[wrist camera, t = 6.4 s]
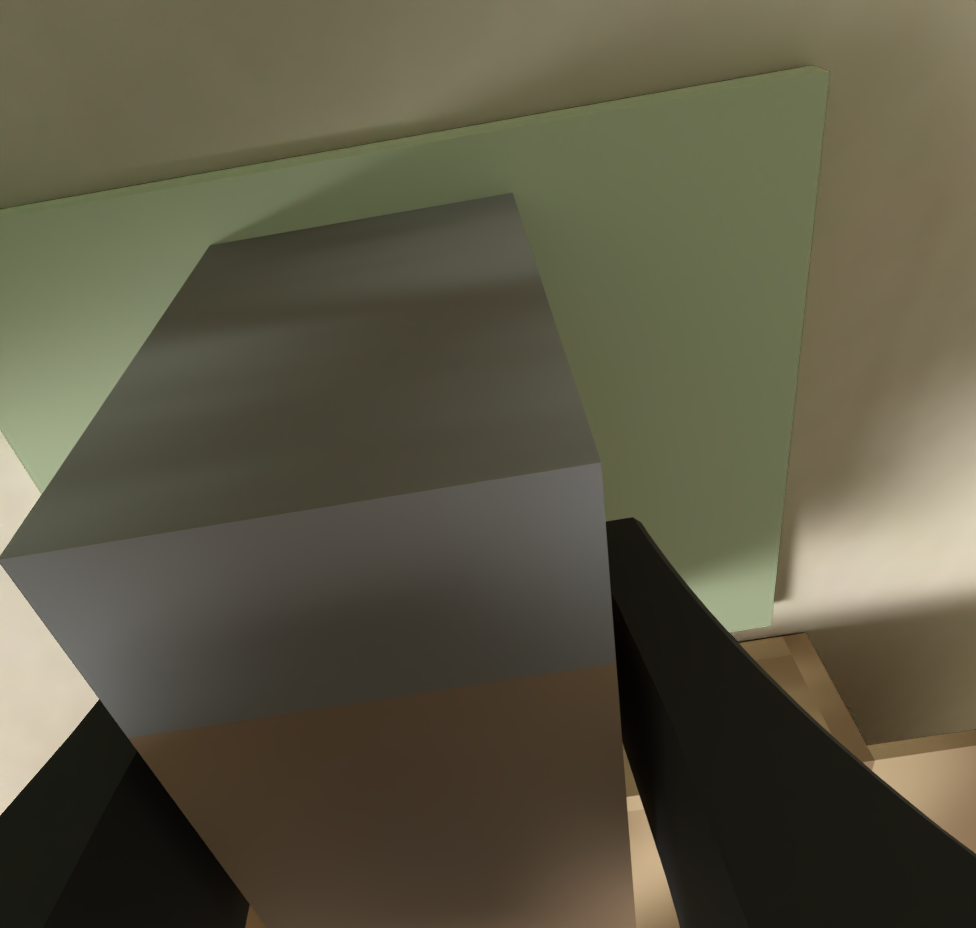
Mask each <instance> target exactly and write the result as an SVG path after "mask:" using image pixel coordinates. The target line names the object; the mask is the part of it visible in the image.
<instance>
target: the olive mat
mask: <svg viewBox="0 0 976 928" xmlns="http://www.w3.org/2000/svg"><path fill="white" fill-rule="evenodd" d="M829 76H830V71H828V70H825V69H822V68H819V67H816V66H814V65H811V66H805V67H800V68H794V69H788V70H783V71H777V72H772V73H766V74H760V75H755V76H749V77H743V78H738V79H732V80H726V81H721V82H715V83H710V84H704V85H698V86H693V87H687V88H681V89H676V90H670V91H664V92H659V93H653V94H648V95H642V96H636V97H631V98H625V99H619V100H614V101H608V102H602V103H597V104H591V105H586V106H580V107H574V108H569V109H563V110H557V111H552V112H546V113H540V114H535V115H529V116H524V117H518V118H512V119H507V120H501V121H495V122H490V123H484V124H478V125H473V126H467V127H462V128H456V129H450V130H445V131H439V132H433V133H428V134H422V135H417V136H411V137H405V138H400V139H394V140H388V141H383V142H377V143H371V144H366V145H360V146H355V147H349V148H343V149H338V150H332V151H326V152H321V153H315V154H309V155H304V156H298V157H293V158H287V159H281V160H276V161H270V162H264V163H259V164H253V165H247V166H242V167H236V168H231V169H225V170H219V171H214V172H208V173H202V174H197V175H191V176H185V177H180V178H174V179H169V180H163V181H157V182H152V183H146V184H140V185H135V186H129V187H123V188H118V189H112V190H107V191H101V192H95V193H90V194H84V195H78V196H73V197H67V198H61V199H56V200H50V201H45V202H39V203H33V204H28V205H22V206H16V207H11V208H5V209H0V430H1V432H2V434H3V435H4V437H5V438H6V440H7V441H8V443H9V445H10V446H11V448H12V449H13V451H14V452H15V454H16V455H17V457H18V459H19V460H20V462H21V463H22V465H23V466H24V468H25V469H26V471H27V473H28V474H29V476H30V477H31V479H32V480H33V482H34V484H35V485H36V487H37V488H38V490H39V491H40V493H41V494H42V493H43V492H44V490H45V489H46V487H47V486H48V484H49V483H50V481H51V480H52V479H53V477H54V476H55V474H56V473H57V471H58V470H59V468H60V467H61V465H62V464H63V462H64V461H65V459H66V458H67V456H68V455H69V453H70V452H71V450H72V449H73V447H74V446H75V444H76V443H77V441H78V440H79V438H80V437H81V436H82V434H83V433H84V431H85V430H86V428H87V427H88V425H89V424H90V422H91V421H92V419H93V418H94V416H95V415H96V413H97V412H98V410H99V409H100V407H101V406H102V404H103V403H104V401H105V400H106V398H107V397H108V395H109V394H110V393H111V391H112V390H113V388H114V387H115V385H116V384H117V382H118V381H119V379H120V378H121V376H122V375H123V373H124V372H125V370H126V369H127V367H128V366H129V364H130V363H131V361H132V360H133V358H134V357H135V355H136V354H137V352H138V351H139V350H140V348H141V347H142V345H143V344H144V342H145V341H146V339H147V338H148V336H149V335H150V333H151V332H152V330H153V329H154V327H155V326H156V324H157V323H158V321H159V320H160V318H161V317H162V315H163V314H164V312H165V311H166V309H167V308H168V307H169V305H170V304H171V302H172V301H173V299H174V298H175V296H176V295H177V293H178V292H179V290H180V289H181V287H182V286H183V284H184V283H185V281H186V280H187V278H188V277H189V275H190V274H191V272H192V271H193V269H194V268H195V266H196V265H197V264H198V262H199V261H200V259H201V258H202V256H203V255H204V253H205V252H206V250H207V249H208V247H209V246H210V245H215V244H220V243H226V242H232V241H238V240H243V239H249V238H255V237H261V236H266V235H272V234H278V233H284V232H289V231H295V230H301V229H307V228H312V227H318V226H324V225H330V224H335V223H341V222H347V221H352V220H358V219H364V218H370V217H375V216H381V215H387V214H393V213H398V212H404V211H410V210H416V209H421V208H427V207H433V206H439V205H444V204H450V203H456V202H462V201H467V200H473V199H479V198H485V197H490V196H496V195H502V194H508V193H513V196H514V199H515V202H516V205H517V208H518V211H519V214H520V217H521V220H522V224H523V227H524V230H525V233H526V236H527V239H528V242H529V245H530V248H531V251H532V254H533V257H534V260H535V263H536V266H537V269H538V272H539V275H540V278H541V281H542V284H543V287H544V290H545V293H546V296H547V300H548V303H549V306H550V309H551V312H552V315H553V318H554V321H555V324H556V327H557V330H558V333H559V336H560V339H561V342H562V345H563V348H564V351H565V354H566V357H567V360H568V363H569V366H570V369H571V373H572V376H573V379H574V382H575V385H576V388H577V391H578V394H579V397H580V400H581V403H582V406H583V409H584V412H585V415H586V418H587V421H588V424H589V427H590V430H591V433H592V436H593V439H594V442H595V445H596V449H597V452H598V455H599V458H600V461H601V468H602V481H603V495H604V508H605V521H612V520H618V519H624V518H631V517H634V518H635V519H637V520H638V521H640V522H641V523H642V524H643V526H644V527H645V529H646V530H647V532H648V533H649V535H650V536H651V538H652V539H653V540H654V542H655V543H656V545H657V546H658V547H659V549H660V550H661V551H662V553H663V554H664V555H665V557H666V558H667V559H668V561H669V562H670V563H671V565H672V566H673V567H674V568H675V570H676V571H677V572H678V574H679V575H680V576H681V577H682V578H683V580H684V581H685V582H686V583H687V585H688V586H689V587H690V588H691V590H692V591H693V592H694V593H695V594H696V596H697V597H698V598H699V599H700V600H701V601H702V603H703V604H704V605H705V606H706V607H707V608H708V610H709V611H710V612H711V613H712V614H713V615H714V616H715V617H716V618H717V620H718V621H719V622H720V623H721V624H722V625H723V626H724V627H725V628H726V630H727V631H728V632H736V631H742V630H749V629H755V628H762V627H768V626H771V621H772V612H773V602H774V593H775V584H776V574H777V565H778V555H779V546H780V537H781V527H782V518H783V508H784V499H785V490H786V480H787V471H788V461H789V452H790V443H791V433H792V424H793V414H794V405H795V396H796V386H797V377H798V367H799V358H800V349H801V339H802V330H803V321H804V311H805V302H806V292H807V283H808V274H809V264H810V255H811V245H812V236H813V227H814V217H815V208H816V198H817V189H818V180H819V170H820V161H821V151H822V142H823V133H824V123H825V114H826V104H827V95H828V86H829Z"/></svg>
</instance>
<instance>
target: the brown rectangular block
mask: <svg viewBox="0 0 976 928" xmlns="http://www.w3.org/2000/svg"><path fill="white" fill-rule="evenodd" d="M0 564H1V566H2V567H3V568H4V570H5V571H6V572H7V574H8V575H9V576H10V578H11V579H12V581H13V582H14V583H15V585H16V586H17V587H18V589H19V590H20V591H21V593H22V594H23V596H24V597H25V598H26V600H27V601H28V602H29V604H30V605H31V606H32V608H33V609H34V611H35V612H36V613H37V615H38V616H39V617H40V619H41V620H42V621H43V623H44V624H45V626H46V627H47V628H48V630H49V631H50V632H51V634H52V635H53V636H54V638H55V639H56V641H57V642H58V643H59V645H60V646H61V647H62V649H63V650H64V651H65V653H66V654H67V656H68V657H69V658H70V660H71V661H72V662H73V664H74V665H75V666H76V668H77V669H78V671H79V672H80V673H81V675H82V676H83V677H84V679H85V680H86V681H87V683H88V684H89V686H90V687H91V688H92V690H93V691H94V692H95V694H96V695H97V696H98V698H99V699H100V701H101V702H102V703H103V705H104V706H105V707H106V709H107V710H108V711H109V713H110V714H111V716H112V717H113V718H114V720H115V721H116V722H117V724H118V725H119V726H120V728H121V729H122V731H123V732H124V733H125V735H126V736H127V737H128V739H129V740H130V741H131V743H132V744H133V746H134V747H135V748H136V750H137V751H138V752H139V754H140V755H141V756H142V758H143V759H144V761H145V762H146V763H147V765H148V766H149V767H150V769H151V770H152V771H153V773H154V774H155V776H156V777H157V778H158V780H159V781H160V782H161V784H162V785H163V786H164V788H165V789H166V791H167V792H168V793H169V795H170V796H171V797H172V799H173V800H174V801H175V803H176V804H177V806H178V807H179V808H180V810H181V811H182V812H183V814H184V815H185V816H186V818H187V819H188V821H189V822H190V823H191V825H192V826H193V827H194V829H195V830H196V831H197V833H198V834H199V836H200V837H201V838H202V840H203V841H204V842H205V844H206V845H207V846H208V848H209V849H210V851H211V852H212V853H213V855H214V856H215V857H216V859H217V860H218V861H219V863H220V864H221V866H222V867H223V868H224V870H225V871H226V872H227V874H228V875H229V876H230V878H231V879H232V881H233V882H234V883H235V885H236V886H237V887H238V889H239V890H240V891H241V893H242V894H243V896H244V897H245V898H246V900H247V901H248V902H249V904H250V905H251V906H252V908H253V909H254V911H255V912H256V913H257V915H258V916H259V917H260V919H261V920H262V921H263V923H264V924H265V926H266V927H267V928H636V917H635V904H634V891H633V877H632V864H631V851H630V838H629V825H628V811H627V798H626V785H625V772H624V759H623V745H622V732H621V719H620V706H619V693H618V679H617V666H616V653H615V640H614V627H613V613H612V600H611V587H610V574H609V561H608V547H607V534H606V521H605V508H604V495H603V481H602V468H601V461H600V458H599V455H598V452H597V449H596V445H595V442H594V439H593V436H592V433H591V430H590V427H589V424H588V421H587V418H586V415H585V412H584V409H583V406H582V403H581V400H580V397H579V394H578V391H577V388H576V385H575V382H574V379H573V376H572V373H571V369H570V366H569V363H568V360H567V357H566V354H565V351H564V348H563V345H562V342H561V339H560V336H559V333H558V330H557V327H556V324H555V321H554V318H553V315H552V312H551V309H550V306H549V303H548V300H547V296H546V293H545V290H544V287H543V284H542V281H541V278H540V275H539V272H538V269H537V266H536V263H535V260H534V257H533V254H532V251H531V248H530V245H529V242H528V239H527V236H526V233H525V230H524V227H523V224H522V220H521V217H520V214H519V211H518V208H517V205H516V202H515V199H514V196H513V193H508V194H502V195H496V196H490V197H485V198H479V199H473V200H467V201H462V202H456V203H450V204H444V205H439V206H433V207H427V208H421V209H416V210H410V211H404V212H398V213H393V214H387V215H381V216H375V217H370V218H364V219H358V220H352V221H347V222H341V223H335V224H330V225H324V226H318V227H312V228H307V229H301V230H295V231H289V232H284V233H278V234H272V235H266V236H261V237H255V238H249V239H243V240H238V241H232V242H226V243H220V244H215V245H210V246H209V247H208V249H207V250H206V252H205V253H204V255H203V256H202V258H201V259H200V261H199V262H198V264H197V265H196V266H195V268H194V269H193V271H192V272H191V274H190V275H189V277H188V278H187V280H186V281H185V283H184V284H183V286H182V287H181V289H180V290H179V292H178V293H177V295H176V296H175V298H174V299H173V301H172V302H171V304H170V305H169V307H168V308H167V309H166V311H165V312H164V314H163V315H162V317H161V318H160V320H159V321H158V323H157V324H156V326H155V327H154V329H153V330H152V332H151V333H150V335H149V336H148V338H147V339H146V341H145V342H144V344H143V345H142V347H141V348H140V350H139V351H138V352H137V354H136V355H135V357H134V358H133V360H132V361H131V363H130V364H129V366H128V367H127V369H126V370H125V372H124V373H123V375H122V376H121V378H120V379H119V381H118V382H117V384H116V385H115V387H114V388H113V390H112V391H111V393H110V394H109V395H108V397H107V398H106V400H105V401H104V403H103V404H102V406H101V407H100V409H99V410H98V412H97V413H96V415H95V416H94V418H93V419H92V421H91V422H90V424H89V425H88V427H87V428H86V430H85V431H84V433H83V434H82V436H81V437H80V438H79V440H78V441H77V443H76V444H75V446H74V447H73V449H72V450H71V452H70V453H69V455H68V456H67V458H66V459H65V461H64V462H63V464H62V465H61V467H60V468H59V470H58V471H57V473H56V474H55V476H54V477H53V479H52V480H51V481H50V483H49V484H48V486H47V487H46V489H45V490H44V492H43V493H42V495H41V496H40V498H39V499H38V501H37V502H36V504H35V505H34V507H33V508H32V510H31V511H30V513H29V514H28V516H27V517H26V519H25V520H24V522H23V523H22V524H21V526H20V527H19V529H18V530H17V532H16V533H15V535H14V536H13V538H12V539H11V541H10V542H9V544H8V545H7V547H6V548H5V550H4V551H3V553H2V554H1V556H0Z"/></svg>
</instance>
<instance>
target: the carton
mask: <svg viewBox="0 0 976 928" xmlns="http://www.w3.org/2000/svg"><path fill="white" fill-rule="evenodd" d="M739 644H740V645H741V646H742V647H743V648H744V649H745V650H746V652H747V653H748V654H749V655H750V656H751V657H752V658H753V659H754V660H755V661H756V662H757V663H758V664H759V665H760V666H761V667H762V668H763V669H764V670H765V671H766V672H767V673H768V674H769V675H770V676H771V677H772V678H773V679H774V680H775V681H776V682H777V683H778V684H779V685H780V686H781V687H782V688H783V689H784V690H785V691H786V692H787V693H788V694H789V695H790V696H791V697H792V698H793V699H794V700H795V701H796V702H797V703H798V704H799V705H800V706H801V707H802V708H803V709H804V710H805V711H806V712H807V713H809V714H810V715H811V716H812V717H813V718H814V719H815V720H816V721H817V722H818V723H819V724H820V725H821V726H822V727H823V728H825V729H826V730H827V731H828V732H829V733H830V734H831V735H832V736H833V737H834V738H835V739H837V740H838V741H839V742H840V743H841V744H842V745H843V746H844V747H846V748H847V749H848V750H849V751H850V752H851V753H852V754H854V755H855V756H856V757H857V758H858V759H859V760H860V761H862V762H863V763H864V764H865V765H866V766H867V767H869V768H870V769H871V770H872V771H873V772H874V773H875V774H877V775H878V776H879V777H880V778H881V779H882V780H884V781H885V782H886V783H887V784H888V785H890V786H891V787H892V788H893V789H895V790H896V791H897V792H898V793H899V794H901V795H902V796H903V797H904V798H905V799H907V800H908V801H909V802H910V803H912V804H913V805H914V806H915V807H916V808H918V809H919V810H920V811H921V812H923V813H924V814H925V815H926V816H927V817H929V818H930V819H931V820H932V821H934V822H935V823H936V824H937V825H939V826H940V827H941V828H942V829H944V830H945V831H946V832H948V833H949V834H950V835H952V836H953V837H954V838H956V839H957V840H958V841H960V842H961V843H962V844H964V845H965V846H966V847H968V848H969V849H970V850H972V851H973V852H974V853H976V729H975V730H969V731H962V732H955V733H948V734H942V735H935V736H928V737H921V738H915V739H908V740H901V741H894V742H888V743H881V744H874V745H866V743H865V741H864V739H863V737H862V736H861V734H860V732H859V730H858V728H857V726H856V725H855V723H854V721H853V719H852V717H851V715H850V713H849V712H848V710H847V708H846V706H845V704H844V702H843V700H842V699H841V697H840V695H839V693H838V691H837V689H836V687H835V686H834V684H833V682H832V680H831V678H830V676H829V674H828V673H827V671H826V669H825V667H824V665H823V663H822V662H821V660H820V658H819V656H818V654H817V652H816V650H815V649H814V647H813V645H812V643H811V641H810V639H809V637H808V636H807V634H806V633H801V634H794V635H788V636H781V637H774V638H768V639H761V640H755V641H748V642H742V643H739ZM622 745H623V743H622ZM623 759H624V772H625V785H626V798H627V811H628V825H629V838H630V851H631V864H632V877H633V891H634V904H635V917H636V928H680V926H679V922H678V918H677V914H676V911H675V907H674V904H673V900H672V897H671V893H670V890H669V886H668V883H667V879H666V876H665V873H664V870H663V867H662V864H661V860H660V857H659V854H658V851H657V848H656V845H655V842H654V839H653V836H652V833H651V830H650V826H649V823H648V820H647V817H646V814H645V811H644V808H643V805H642V802H641V799H640V796H639V792H638V789H637V786H636V783H635V780H634V777H633V774H632V771H631V768H630V765H629V761H628V758H627V755H626V752H625V749H624V746H623ZM245 928H267V927H266V926H265V924H264V923H263V921H262V920H261V919H260V917H259V916H258V915H257V913H256V912H255V911H254V909H253V908H252V906H251V905H250V906H249V911H248V916H247V921H246V926H245Z"/></svg>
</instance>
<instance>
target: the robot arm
mask: <svg viewBox="0 0 976 928" xmlns="http://www.w3.org/2000/svg"><path fill="white" fill-rule="evenodd" d="M606 534H607V547H608V561H609V574H610V587H611V600H612V613H613V627H614V640H615V653H616V666H617V679H618V693H619V706H620V719H621V732H622V743H623V746H624V749H625V752H626V755H627V758H628V761H629V765H630V768H631V771H632V774H633V777H634V780H635V783H636V786H637V789H638V792H639V796H640V799H641V802H642V805H643V808H644V811H645V814H646V817H647V820H648V823H649V826H650V830H651V833H652V836H653V839H654V842H655V845H656V848H657V851H658V854H659V857H660V860H661V864H662V867H663V870H664V873H665V876H666V879H667V883H668V886H669V890H670V893H671V897H672V900H673V904H674V907H675V911H676V914H677V918H678V922H679V926H680V928H976V853H974V852H973V851H972V850H970V849H969V848H968V847H966V846H965V845H964V844H962V843H961V842H960V841H958V840H957V839H956V838H954V837H953V836H952V835H950V834H949V833H948V832H946V831H945V830H944V829H942V828H941V827H940V826H939V825H937V824H936V823H935V822H934V821H932V820H931V819H930V818H929V817H927V816H926V815H925V814H924V813H923V812H921V811H920V810H919V809H918V808H916V807H915V806H914V805H913V804H912V803H910V802H909V801H908V800H907V799H905V798H904V797H903V796H902V795H901V794H899V793H898V792H897V791H896V790H895V789H893V788H892V787H891V786H890V785H888V784H887V783H886V782H885V781H884V780H882V779H881V778H880V777H879V776H878V775H877V774H875V773H874V772H873V771H872V770H871V769H870V768H869V767H867V766H866V765H865V764H864V763H863V762H862V761H860V760H859V759H858V758H857V757H856V756H855V755H854V754H852V753H851V752H850V751H849V750H848V749H847V748H846V747H844V746H843V745H842V744H841V743H840V742H839V741H838V740H837V739H835V738H834V737H833V736H832V735H831V734H830V733H829V732H828V731H827V730H826V729H825V728H823V727H822V726H821V725H820V724H819V723H818V722H817V721H816V720H815V719H814V718H813V717H812V716H811V715H810V714H809V713H807V712H806V711H805V710H804V709H803V708H802V707H801V706H800V705H799V704H798V703H797V702H796V701H795V700H794V699H793V698H792V697H791V696H790V695H789V694H788V693H787V692H786V691H785V690H784V689H783V688H782V687H781V686H780V685H779V684H778V683H777V682H776V681H775V680H774V679H773V678H772V677H771V676H770V675H769V674H768V673H767V672H766V671H765V670H764V669H763V668H762V667H761V666H760V665H759V664H758V663H757V662H756V661H755V660H754V659H753V658H752V657H751V656H750V655H749V654H748V653H747V652H746V650H745V649H744V648H743V647H742V646H741V645H740V644H739V643H738V642H737V641H736V640H735V638H734V637H733V636H732V635H731V634H730V633H729V632H728V631H727V630H726V628H725V627H724V626H723V625H722V624H721V623H720V622H719V621H718V620H717V618H716V617H715V616H714V615H713V614H712V613H711V612H710V611H709V610H708V608H707V607H706V606H705V605H704V604H703V603H702V601H701V600H700V599H699V598H698V597H697V596H696V594H695V593H694V592H693V591H692V590H691V588H690V587H689V586H688V585H687V583H686V582H685V581H684V580H683V578H682V577H681V576H680V575H679V574H678V572H677V571H676V570H675V568H674V567H673V566H672V565H671V563H670V562H669V561H668V559H667V558H666V557H665V555H664V554H663V553H662V551H661V550H660V549H659V547H658V546H657V545H656V543H655V542H654V540H653V539H652V538H651V536H650V535H649V533H648V532H647V530H646V529H645V527H644V526H643V524H642V523H641V522H640V521H638V520H637V519H635V518H634V517H631V518H624V519H618V520H612V521H606ZM249 906H250V904H249V902H248V901H247V900H246V898H245V897H244V896H243V894H242V893H241V891H240V890H239V889H238V887H237V886H236V885H235V883H234V882H233V881H232V879H231V878H230V876H229V875H228V874H227V872H226V871H225V870H224V868H223V867H222V866H221V864H220V863H219V861H218V860H217V859H216V857H215V856H214V855H213V853H212V852H211V851H210V849H209V848H208V846H207V845H206V844H205V842H204V841H203V840H202V838H201V837H200V836H199V834H198V833H197V831H196V830H195V829H194V827H193V826H192V825H191V823H190V822H189V821H188V819H187V818H186V816H185V815H184V814H183V812H182V811H181V810H180V808H179V807H178V806H177V804H176V803H175V801H174V800H173V799H172V797H171V796H170V795H169V793H168V792H167V791H166V789H165V788H164V786H163V785H162V784H161V782H160V781H159V780H158V778H157V777H156V776H155V774H154V773H153V771H152V770H151V769H150V767H149V766H148V765H147V763H146V762H145V761H144V759H143V758H142V756H141V755H140V754H139V752H138V751H137V750H136V748H135V747H134V746H133V744H132V743H131V741H130V740H129V739H128V737H127V736H126V735H125V733H124V732H123V731H122V729H121V728H120V726H119V725H118V724H117V722H116V721H115V720H114V718H113V717H112V716H111V714H110V713H109V711H108V710H107V709H106V707H105V706H104V705H103V703H102V702H101V701H100V699H99V700H98V702H97V703H96V704H95V705H94V707H93V708H92V709H91V710H90V712H89V713H88V714H87V715H86V717H85V718H84V719H83V720H82V721H81V723H80V724H79V725H78V726H77V728H76V729H75V730H74V731H73V733H72V734H71V735H70V736H69V737H68V738H67V740H66V741H65V742H64V743H63V744H62V745H61V747H60V748H59V749H58V750H57V751H56V752H55V753H54V755H53V756H52V757H51V758H50V759H49V760H48V761H47V763H46V764H45V765H44V766H43V767H42V768H41V769H40V771H39V772H38V773H37V774H36V775H35V776H34V778H33V779H32V780H31V781H30V782H29V783H28V784H27V786H26V787H25V788H24V789H23V790H22V791H21V792H20V794H19V795H18V796H17V797H16V798H15V799H14V801H13V802H12V803H11V804H10V805H9V806H8V807H7V809H6V810H5V811H4V812H3V813H2V814H1V815H0V928H245V926H246V921H247V916H248V911H249Z"/></svg>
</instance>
